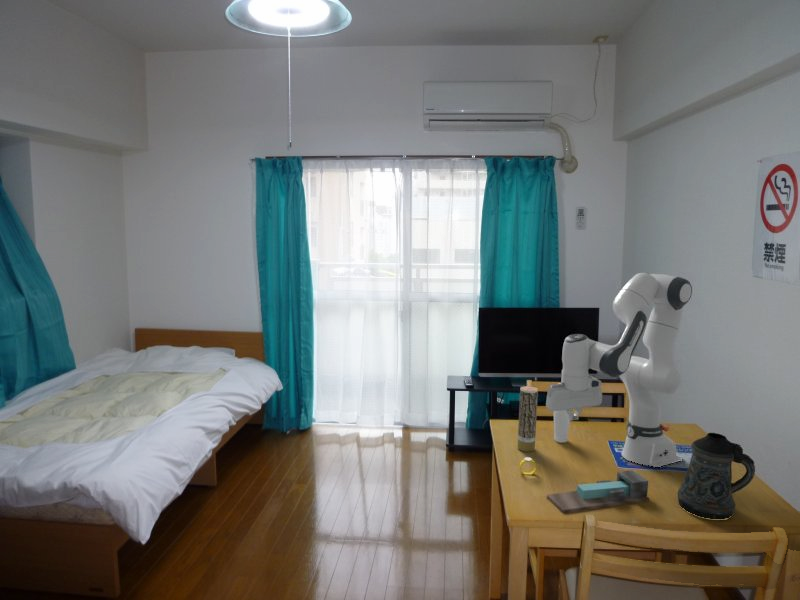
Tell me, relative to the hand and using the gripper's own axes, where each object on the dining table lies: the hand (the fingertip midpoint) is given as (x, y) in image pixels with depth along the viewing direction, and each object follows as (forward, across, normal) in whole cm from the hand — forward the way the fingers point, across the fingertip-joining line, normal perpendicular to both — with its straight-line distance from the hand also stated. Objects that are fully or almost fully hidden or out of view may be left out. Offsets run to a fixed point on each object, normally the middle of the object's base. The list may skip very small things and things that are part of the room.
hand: (573, 419), depth 196 cm
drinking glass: (+24, +15, +32) cm, 42 cm away
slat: (+22, +5, -13) cm, 26 cm away
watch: (+22, -13, +8) cm, 27 cm away
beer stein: (+24, +33, -28) cm, 49 cm away
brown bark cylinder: (+23, -3, +28) cm, 36 cm away
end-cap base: (+22, +1, -14) cm, 27 cm away
